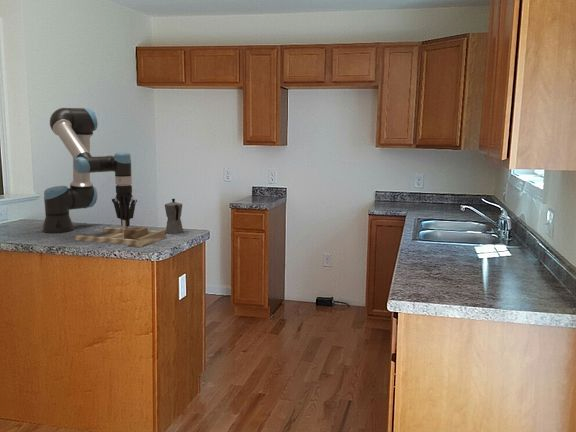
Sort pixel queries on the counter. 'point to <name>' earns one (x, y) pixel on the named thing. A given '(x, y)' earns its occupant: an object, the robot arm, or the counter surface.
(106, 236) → the wooden cutlery tray
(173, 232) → the coffeepot
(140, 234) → the walnut block
